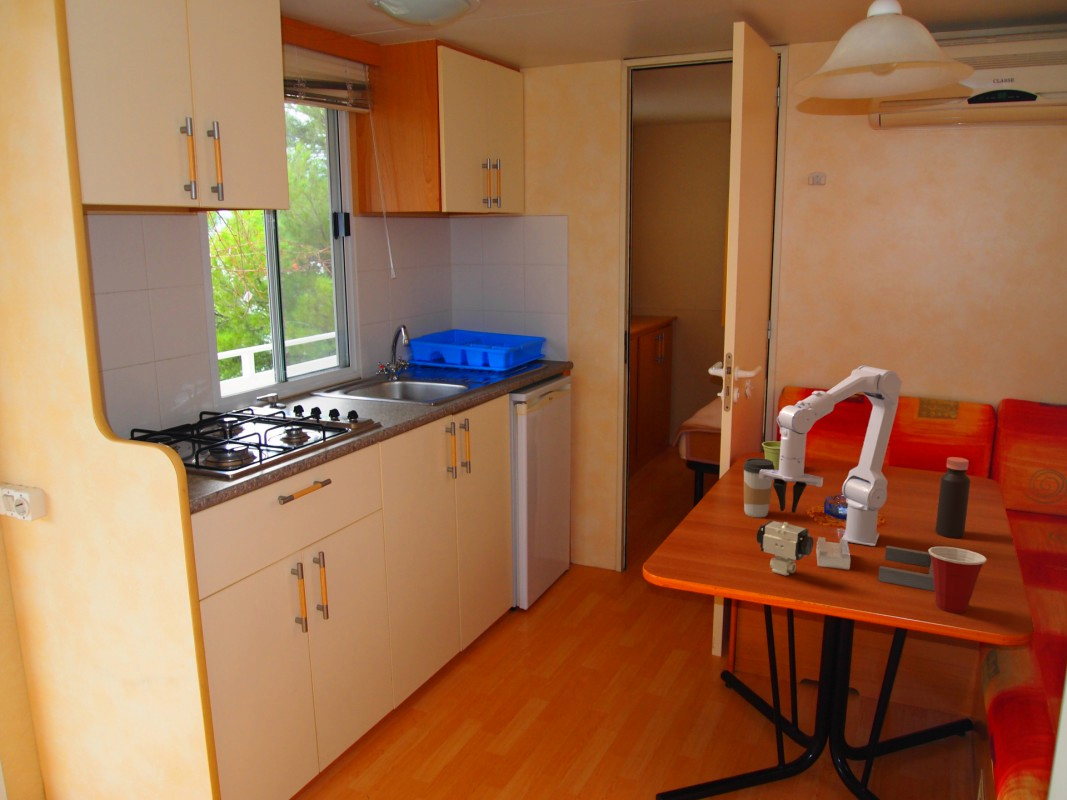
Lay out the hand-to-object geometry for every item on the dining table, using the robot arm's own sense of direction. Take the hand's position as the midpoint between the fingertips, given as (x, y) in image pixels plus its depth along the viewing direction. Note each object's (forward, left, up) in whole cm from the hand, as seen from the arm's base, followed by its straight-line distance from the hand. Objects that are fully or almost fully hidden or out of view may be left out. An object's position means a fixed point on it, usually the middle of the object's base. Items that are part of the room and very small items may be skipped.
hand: (788, 510), depth 205 cm
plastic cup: (+15, +37, -11) cm, 41 cm away
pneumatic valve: (+14, +2, -11) cm, 18 cm away
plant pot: (-73, -18, -11) cm, 76 cm away
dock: (0, +27, -10) cm, 29 cm away
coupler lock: (0, +11, -11) cm, 15 cm away
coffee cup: (-25, -13, -11) cm, 30 cm away
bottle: (-34, +35, -11) cm, 50 cm away
